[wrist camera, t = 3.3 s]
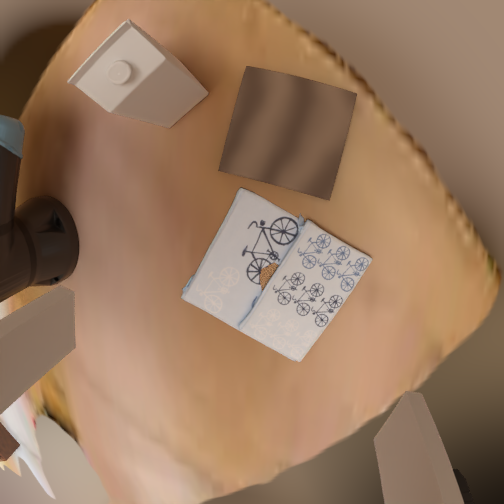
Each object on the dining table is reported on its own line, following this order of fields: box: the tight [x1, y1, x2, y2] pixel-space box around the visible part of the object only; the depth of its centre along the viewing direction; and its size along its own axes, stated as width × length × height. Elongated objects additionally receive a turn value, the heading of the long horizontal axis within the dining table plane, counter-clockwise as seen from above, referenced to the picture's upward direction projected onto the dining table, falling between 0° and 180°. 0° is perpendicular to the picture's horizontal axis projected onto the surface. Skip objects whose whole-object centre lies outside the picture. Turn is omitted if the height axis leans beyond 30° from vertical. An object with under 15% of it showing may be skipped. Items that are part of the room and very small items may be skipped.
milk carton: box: [67, 19, 209, 128], centre depth 29 cm, size 7×7×19 cm
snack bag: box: [181, 188, 372, 362], centre depth 42 cm, size 19×20×2 cm
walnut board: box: [218, 66, 357, 200], centre depth 37 cm, size 14×14×2 cm
